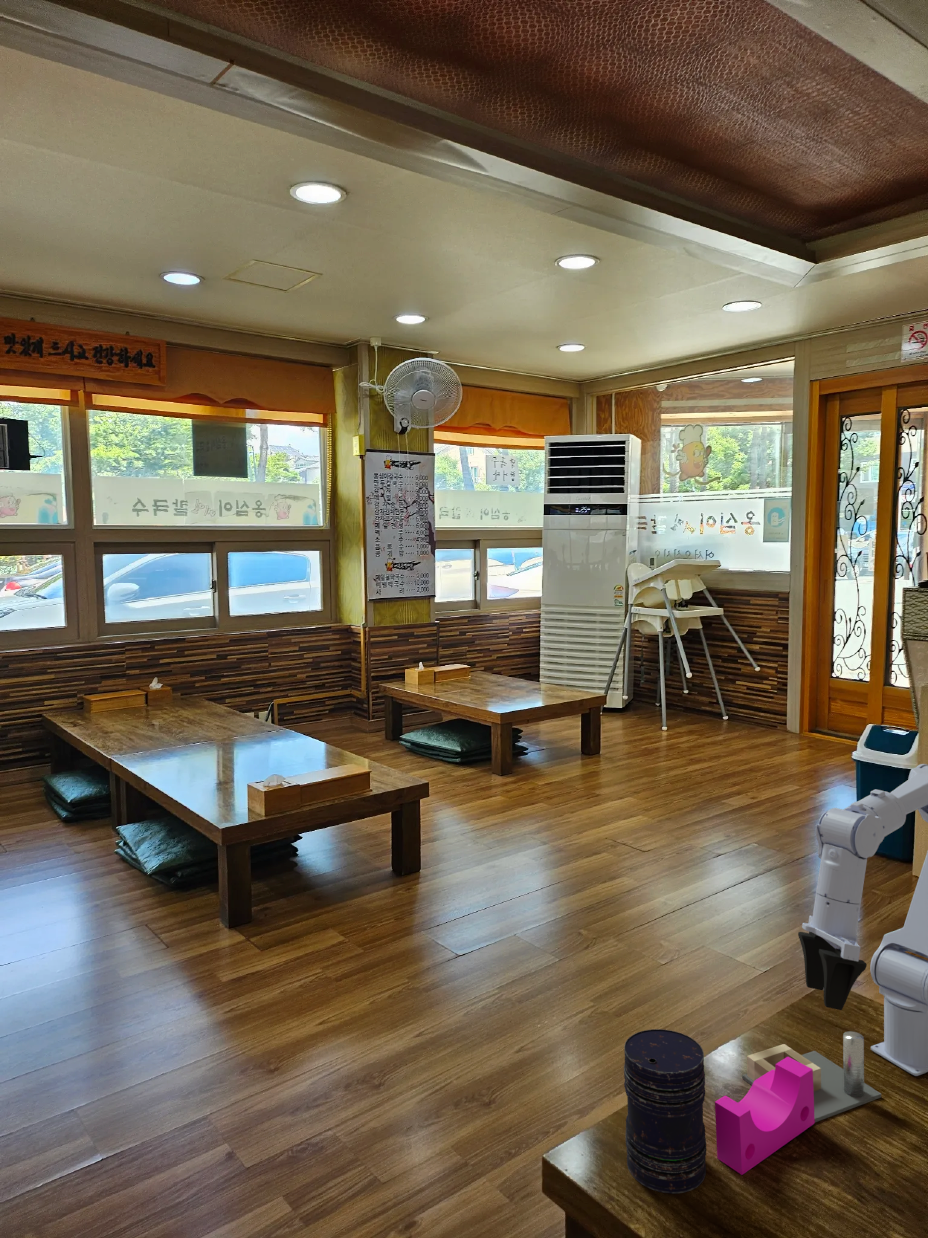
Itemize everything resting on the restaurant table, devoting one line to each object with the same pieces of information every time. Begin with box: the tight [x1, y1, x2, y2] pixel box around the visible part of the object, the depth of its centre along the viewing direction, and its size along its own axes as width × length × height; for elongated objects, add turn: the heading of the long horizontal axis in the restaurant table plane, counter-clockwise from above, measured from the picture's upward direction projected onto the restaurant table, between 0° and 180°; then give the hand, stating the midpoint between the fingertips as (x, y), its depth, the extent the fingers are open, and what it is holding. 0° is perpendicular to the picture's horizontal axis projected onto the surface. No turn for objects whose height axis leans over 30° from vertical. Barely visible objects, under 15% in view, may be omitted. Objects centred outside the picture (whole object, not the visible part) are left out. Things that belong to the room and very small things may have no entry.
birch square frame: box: [746, 1043, 821, 1092], centre depth 123 cm, size 7×7×3 cm
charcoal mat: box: [741, 1050, 882, 1123], centre depth 122 cm, size 14×12×1 cm
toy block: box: [714, 1057, 816, 1176], centre depth 112 cm, size 15×6×8 cm, turn 125°
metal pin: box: [842, 1030, 865, 1098], centre depth 120 cm, size 3×3×8 cm
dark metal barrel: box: [623, 1028, 707, 1194], centre depth 107 cm, size 10×10×15 cm
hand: (823, 998), depth 117 cm, fingers open, 7 cm apart
